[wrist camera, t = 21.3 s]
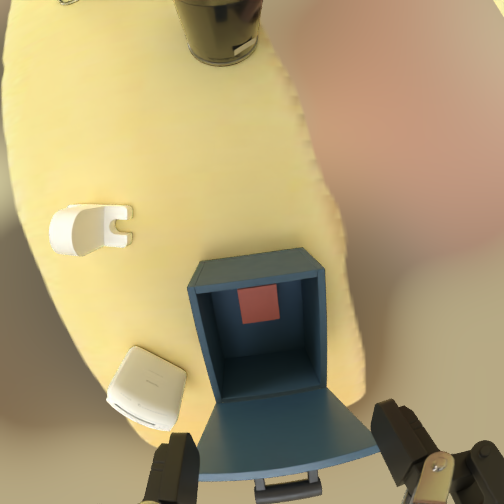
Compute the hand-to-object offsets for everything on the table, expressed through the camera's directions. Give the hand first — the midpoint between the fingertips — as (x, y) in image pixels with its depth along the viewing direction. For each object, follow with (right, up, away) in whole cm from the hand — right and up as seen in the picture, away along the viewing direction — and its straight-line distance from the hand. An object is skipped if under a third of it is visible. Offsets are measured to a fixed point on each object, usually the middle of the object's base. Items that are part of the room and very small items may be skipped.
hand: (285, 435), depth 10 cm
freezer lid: (+1, -8, +12) cm, 15 cm away
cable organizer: (-22, +12, +25) cm, 35 cm away
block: (-1, +3, +27) cm, 27 cm away
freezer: (0, 0, +28) cm, 28 cm away
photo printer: (-16, -10, +30) cm, 36 cm away
